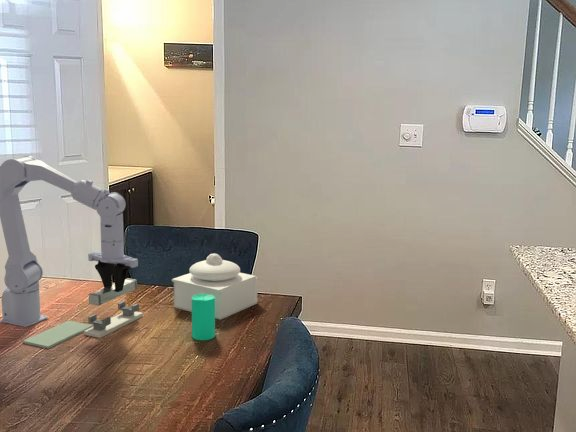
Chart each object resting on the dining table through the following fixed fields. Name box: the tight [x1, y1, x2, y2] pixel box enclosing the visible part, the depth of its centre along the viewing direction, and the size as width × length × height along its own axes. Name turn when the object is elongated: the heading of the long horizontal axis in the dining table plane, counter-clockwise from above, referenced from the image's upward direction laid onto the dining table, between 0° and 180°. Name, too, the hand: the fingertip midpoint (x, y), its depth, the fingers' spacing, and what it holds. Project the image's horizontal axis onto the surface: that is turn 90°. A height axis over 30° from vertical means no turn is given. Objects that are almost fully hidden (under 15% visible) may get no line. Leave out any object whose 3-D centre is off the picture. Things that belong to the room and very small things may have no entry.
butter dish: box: [171, 253, 259, 321], centre depth 186 cm, size 18×18×16 cm
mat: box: [22, 320, 93, 350], centre depth 161 cm, size 8×16×1 cm, turn 157°
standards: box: [83, 300, 144, 339], centre depth 169 cm, size 5×18×4 cm, turn 157°
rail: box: [88, 277, 138, 307], centre depth 168 cm, size 3×16×3 cm, turn 157°
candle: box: [191, 291, 216, 341], centre depth 162 cm, size 6×6×12 cm
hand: (113, 290), depth 167 cm, fingers closed on rail, 3 cm apart
